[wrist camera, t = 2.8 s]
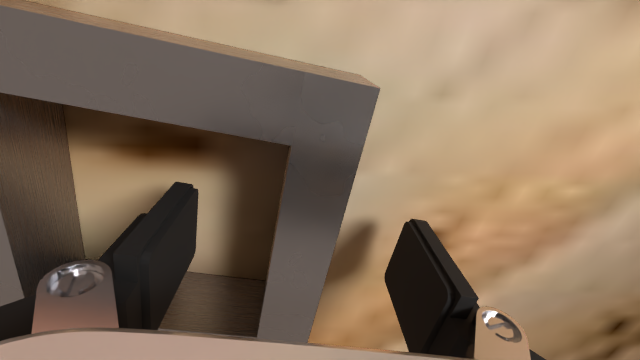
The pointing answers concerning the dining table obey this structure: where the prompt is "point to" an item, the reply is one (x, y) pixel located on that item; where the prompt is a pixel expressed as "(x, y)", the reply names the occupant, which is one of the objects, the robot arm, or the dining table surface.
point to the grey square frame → (186, 110)
